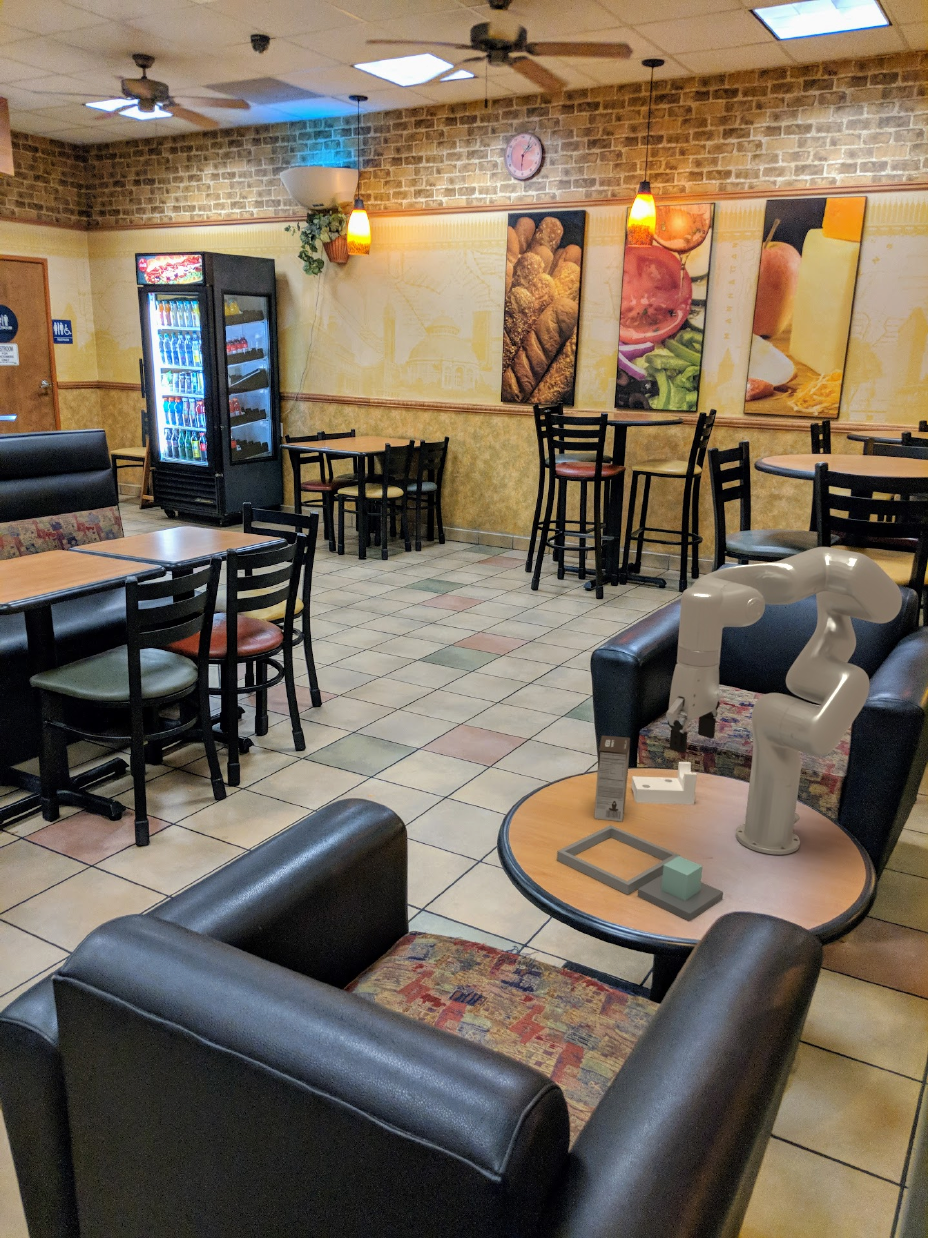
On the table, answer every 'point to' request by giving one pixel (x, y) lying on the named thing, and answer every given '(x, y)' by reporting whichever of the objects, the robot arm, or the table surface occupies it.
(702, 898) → the slate board
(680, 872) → the teal cube
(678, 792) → the bracket
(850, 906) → the table surface
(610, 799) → the coffee box
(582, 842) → the low bin
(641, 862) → the table surface
